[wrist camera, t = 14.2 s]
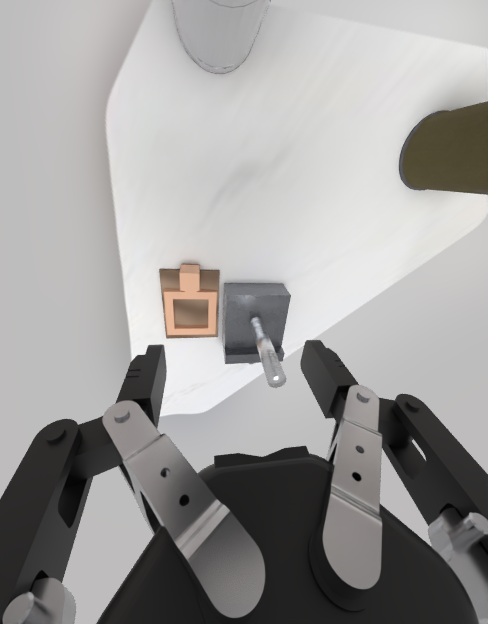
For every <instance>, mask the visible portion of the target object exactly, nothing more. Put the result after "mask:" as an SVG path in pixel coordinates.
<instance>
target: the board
mask: <svg viewBox="0 0 488 624" xmlns="http://www.w3.org/2000/svg"><path fill="white" fill-rule="evenodd" d="M159 272H160V282H161V291H162V301H163V310H164V320H165V329H166V338H200V337H218V308H219V270H200V287H199V289H211V290H217V302H216V330H215V334H207V335H167V326H166V314H165V302H164V289H180V275H179V273H180V269H160V270H159ZM174 314H175V325H208V299H174Z"/></svg>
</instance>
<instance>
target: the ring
mask: <svg viewBox="0 0 488 624" xmlns="http://www.w3.org/2000/svg"><path fill="white" fill-rule="evenodd" d="M179 275H180V289H164V302H165V314H166V326H167V335H207V334H215V330H216V302H217V290H211V289H199V287H200V265H184V264H181V268H180V273H179ZM174 299H208V325H175V314H174Z"/></svg>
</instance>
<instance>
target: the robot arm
mask: <svg viewBox="0 0 488 624" xmlns="http://www.w3.org/2000/svg"><path fill="white" fill-rule="evenodd" d="M270 1H271V0H172V3H173V9H174V14H175V19H176V25H177V30H178V33H179V36H180V39H181V41H182V43H183V45H184V47H185V49H186V51H187V52H188V54H189V55H190V57H191V58H192V59H193V60H194V61H195V62H196V63H197V64H198V65H199V66H200V67H202V68H203V69H205V70H207V71H209V72H213V73H223V74H224V73H227V72H231V71H233V70H234V69H236V68H237V67H239V66H240V65H241V64H242V63H243V61H244V60H245V59H246V57H247V55H248V54H249V52H250V50H251V47H252V45H253V42H254V40H255V38H256V35H257V33H258V31H259V28H260V26H261V23H262V21H263V18H264V16H265V13H266V11H267V8H268V6H269V3H270ZM301 369H302V372H303V374H304V376H305V378H306V380H307V382H308V384H309V386H310V388H311V390H312V392H313V394H314V396H315V398H316V400H317V402H318V404H319V406H320V408H321V410H322V412H323V414H324V416H325V418H334V419H335V420H336V423H335V425H334V429H333V433H332V437H331V442H330V446H329V450H328V454H327V457H326V460H325V459H323V458H321V457H319V456H317V455H313V454H309V452H308V450H307V447H306V446H300V447H291V448H284V449H281V450H279V451H277V452H274V453H272V454H269V455H267V456H264V457H259V456H252V455H246V454H240V453H236V454H228V455H218V456H214V464H212V465H210V466H208V467H206V468H204V469H203V470H201V471H200V472H199V473H198V474H197V473H196V472H195V470H194V469H193V468H192V466H191V465H190V464H189V463H188V461H187V460H186V459H185V457H184V456H183V455H182V453H181V452H180V451H179V450H178V449H177V447H176V446H175V444H174V443H173V442H172V441H171V439H170V438H169V437H168V436H167V435H166V434H162V435H161V434H160V433H159V431H158V430H157V426H158V421H159V415H160V410H161V404H162V398H163V392H164V387H165V381H166V359H165V350H164V345H148V348H147V351H146V354H145V355H137V356H136V357H135V358H134V359H133V361H132V362H131V363H130V366H129V369H128V372H127V374H126V378H125V379H124V382H123V385H122V388H121V390H120V393H119V396H118V398H117V401H116V403H115V404H114V405H112V406H111V407H110V408H109V409H108V410H107V411H106V412H105V414H104V415H103V416H102V417H100V418H98V419H95V420H92V421H89V422H86V423H82V424H79V425H78V424H77V422H75V421H74V420H71V419H62V420H59V421H55V422H53V423H51V424H49V425H47V426H46V427H44V428H43V429H42V430H41V431H40V432H39V433H38V434H37V435H36V437H35V438H34V440H33V442H32V444H31V445H30V447H29V449H28V451H27V452H26V454H25V456H24V458H23V460H22V461H21V463H20V465H19V467H18V469H17V470H16V472H15V474H14V476H13V477H12V479H11V481H10V483H9V485H8V486H7V489H6V490H5V492H4V494H3V495H2V497H1V499H0V624H74V621H75V614H76V603H75V599H74V597H73V595H72V594H71V593H70V592H69V591H68V590H67V588H66V587H64V585H63V584H62V581H63V577H64V574H65V570H66V567H67V564H68V560H69V557H70V554H71V550H72V547H73V543H74V540H75V537H76V533H77V530H78V527H79V523H80V520H81V516H82V513H83V510H84V506H85V503H86V499H87V496H88V493H89V489H90V486H91V482H92V479H93V476H95V475H98V474H100V473H102V472H105V471H107V470H110V469H112V468H114V467H117V466H118V467H119V469H120V471H121V473H122V475H123V477H124V479H125V480H126V482H127V484H128V486H129V488H130V490H131V491H132V493H133V495H134V497H135V499H136V501H137V503H138V505H139V508H140V510H141V512H142V514H143V516H144V518H145V520H146V522H147V524H148V526H149V528H150V530H151V531H152V533H153V535H154V536H153V538H152V539H151V541H150V542H149V544H148V545H147V547H146V548H145V550H144V551H143V553H142V554H141V556H140V557H139V559H138V560H137V562H136V563H135V565H134V566H133V568H132V569H131V571H130V572H129V574H128V575H127V577H126V578H125V580H124V582H123V583H122V585H121V586H120V588H119V589H118V591H117V592H116V594H115V595H114V597H113V598H112V600H111V601H110V603H109V604H108V606H107V607H106V609H105V610H104V612H103V613H102V615H101V617H100V619H99V620H98V622H97V624H488V474H487V473H486V472H485V471H484V470H483V469H482V467H481V466H480V465H479V464H478V463H477V462H476V461H475V460H474V459H473V457H472V456H471V455H470V454H469V453H468V452H467V451H466V450H465V448H463V446H462V445H461V444H460V443H459V442H458V441H457V439H456V438H455V437H454V436H453V435H452V434H451V433H450V432H449V430H448V429H447V428H446V427H445V426H444V425H443V424H442V423H441V422H440V420H439V419H438V418H437V417H436V416H435V415H434V414H433V413H432V411H431V410H430V409H429V408H428V407H427V406H426V405H425V404H424V403H423V402H422V401H421V400H419V399H417V398H416V397H414V396H411V395H408V394H400V395H398V396H397V397H396V399H395V401H394V400H389V399H383V398H379V397H378V396H377V395H376V394H375V393H374V392H373V391H372V390H371V389H369V388H367V387H364V386H361V385H359V384H358V382H357V381H356V380H355V378H354V377H353V376H352V374H351V373H350V372H349V370H348V369H347V368H346V367H345V365H344V364H343V362H342V361H341V359H340V358H339V357H338V355H337V354H336V353H335V352H333V351H332V350H330V349H329V348H326V347H325V346H324V345H323V343H322V342H321V341H320V340H307V341H306V342H305V345H304V350H303V354H302V358H301ZM413 439H414V440H415V441H416V443H417V444H418V446H419V447H420V448H421V450H422V451H423V453H424V454H425V457H426V461H425V459H424V458H423V456H422V455H421V454H420V452H419V451H418V450H417V448H416V447H415V445H414V444H413V443H412V440H413ZM382 448H383V450H384V452H385V453H386V455H387V457H388V458H389V460H390V462H391V464H392V465H393V467H394V469H395V470H396V472H397V474H398V475H399V477H400V479H401V480H402V482H403V484H404V486H405V487H406V489H407V491H408V492H409V494H410V496H411V497H412V499H413V501H414V502H415V504H416V506H417V507H418V509H419V511H420V512H421V514H422V516H423V518H424V519H425V521H426V522H427V524H428V526H429V528H428V535H429V539H430V542H431V544H432V546H430V545H428V544H427V543H426V542H425V541H424V540H422V539H421V538H420V537H419V536H418V535H417V534H415V533H414V532H413V531H412V530H411V529H409V528H408V527H407V526H406V525H404V524H403V523H402V522H401V521H400V520H399V519H397V518H396V517H395V516H394V515H393V514H392V513H390V512H389V511H388V510H387V509H386V508H384V507H383V506H382V505H381V504H380V478H381V452H382Z"/></svg>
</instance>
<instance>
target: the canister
mask: <svg viewBox="0 0 488 624" xmlns="http://www.w3.org/2000/svg"><path fill="white" fill-rule="evenodd" d="M399 170H400V175H401V179H402V181H403V182H404V183H405V185H407V186H408V187H409V188H411V189H414V190H426V189H429V190H441V191H452V192H464V193H475V194H487V195H488V102H484V103H480V104H476V105H472V106H468V107H464V108H460V109H456V110H452V111H438V112H435V113H433V114H431V115H429V116H427V117H426V118H424V119H423V120H422V121H421V122H420V123H419V124H418V125H417V126H416V127H415V128H414V129H413V130H412V132H411V133H410V135H409V137H408V138H407V140H406V142H405V144H404V146H403V148H402V152H401V156H400V165H399Z"/></svg>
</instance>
